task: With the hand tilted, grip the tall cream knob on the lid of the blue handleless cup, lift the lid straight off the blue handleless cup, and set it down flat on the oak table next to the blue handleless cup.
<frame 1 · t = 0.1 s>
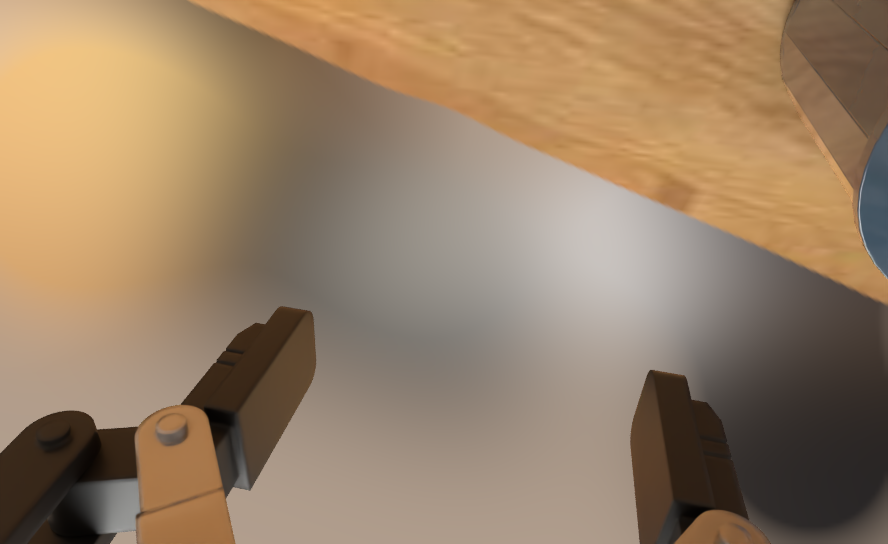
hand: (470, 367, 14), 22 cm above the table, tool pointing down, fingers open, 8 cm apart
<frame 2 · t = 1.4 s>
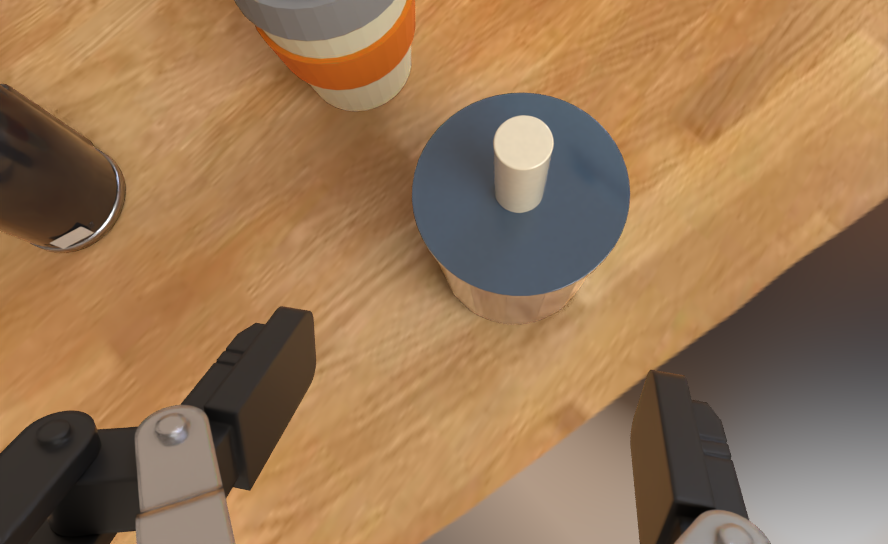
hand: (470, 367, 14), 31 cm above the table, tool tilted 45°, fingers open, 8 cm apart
reusable coffee cup: (360, 65, 52), on the table
blue handleless cup: (513, 253, 46), on the table
lid: (518, 193, 34), point 13 cm above the table, touching blue handleless cup
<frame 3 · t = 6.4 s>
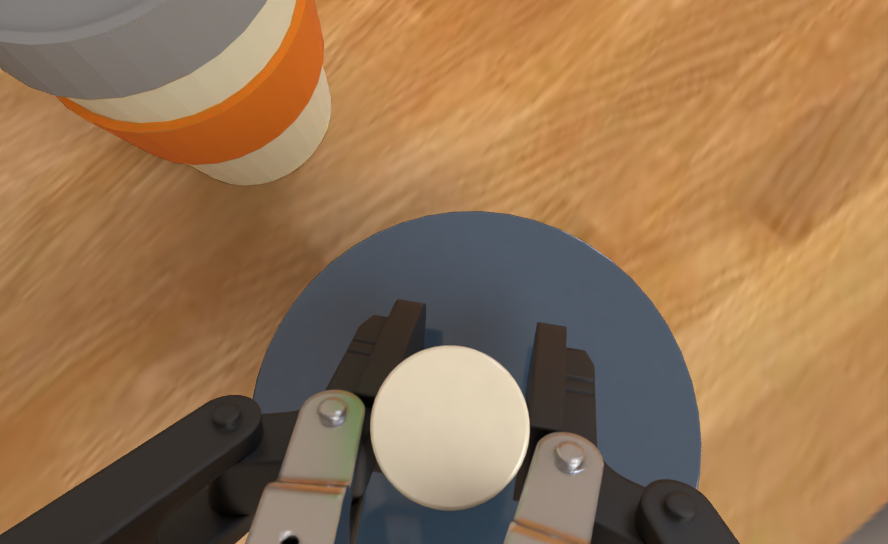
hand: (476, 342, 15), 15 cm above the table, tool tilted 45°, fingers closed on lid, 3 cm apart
reusable coffee cup: (256, 114, 34), on the table
lid: (468, 424, 17), point 13 cm above the table, touching gripper, blue handleless cup
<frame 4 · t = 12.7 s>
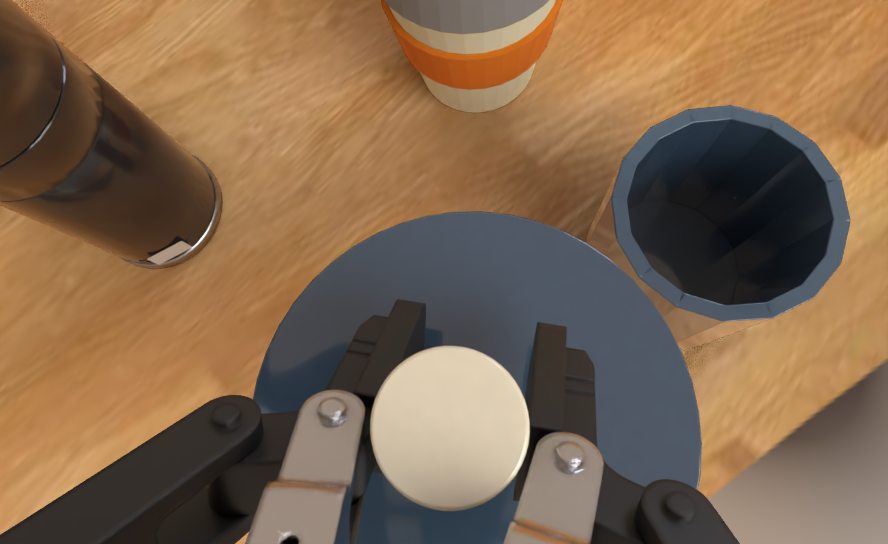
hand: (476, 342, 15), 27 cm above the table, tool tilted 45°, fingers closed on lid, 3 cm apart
reusable coffee cup: (477, 62, 47), on the table
blue handleless cup: (661, 270, 42), on the table
lid: (468, 424, 17), point 25 cm above the table, touching gripper
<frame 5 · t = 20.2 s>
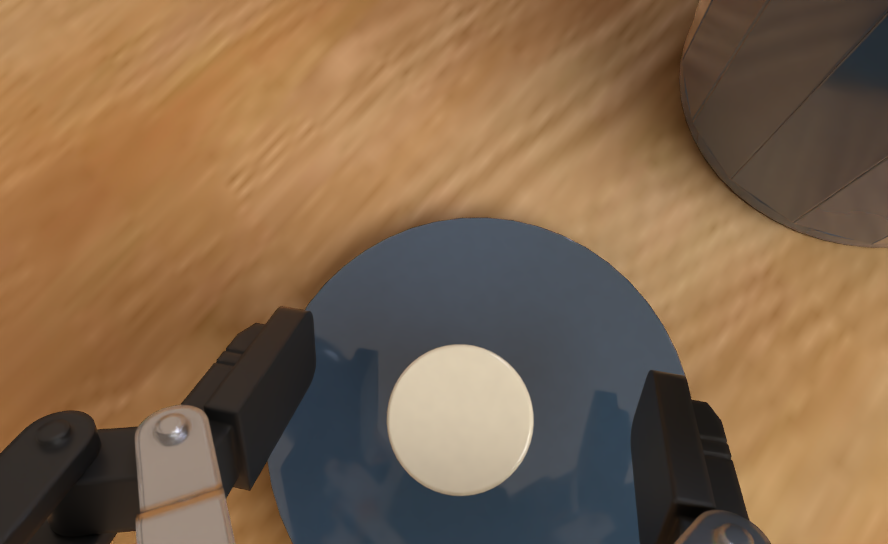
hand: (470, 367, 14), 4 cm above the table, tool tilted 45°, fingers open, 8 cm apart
blue handleless cup: (855, 85, 20), on the table
lid: (474, 419, 18), point 1 cm above the table
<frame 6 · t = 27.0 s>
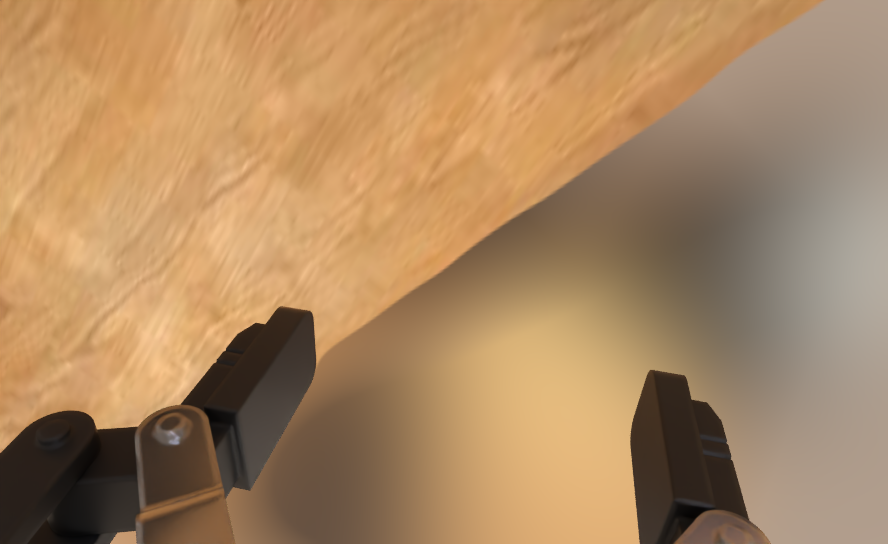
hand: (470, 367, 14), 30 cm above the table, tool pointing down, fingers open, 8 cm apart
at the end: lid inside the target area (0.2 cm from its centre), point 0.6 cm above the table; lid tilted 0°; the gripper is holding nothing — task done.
